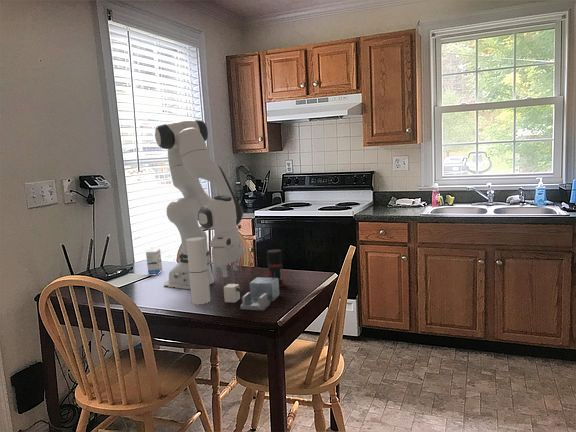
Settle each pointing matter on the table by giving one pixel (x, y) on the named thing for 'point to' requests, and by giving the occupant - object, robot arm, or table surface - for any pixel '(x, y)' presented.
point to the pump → (232, 292)
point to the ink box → (154, 261)
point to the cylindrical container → (198, 270)
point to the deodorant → (275, 265)
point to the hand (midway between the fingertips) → (231, 273)
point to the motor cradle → (260, 293)
